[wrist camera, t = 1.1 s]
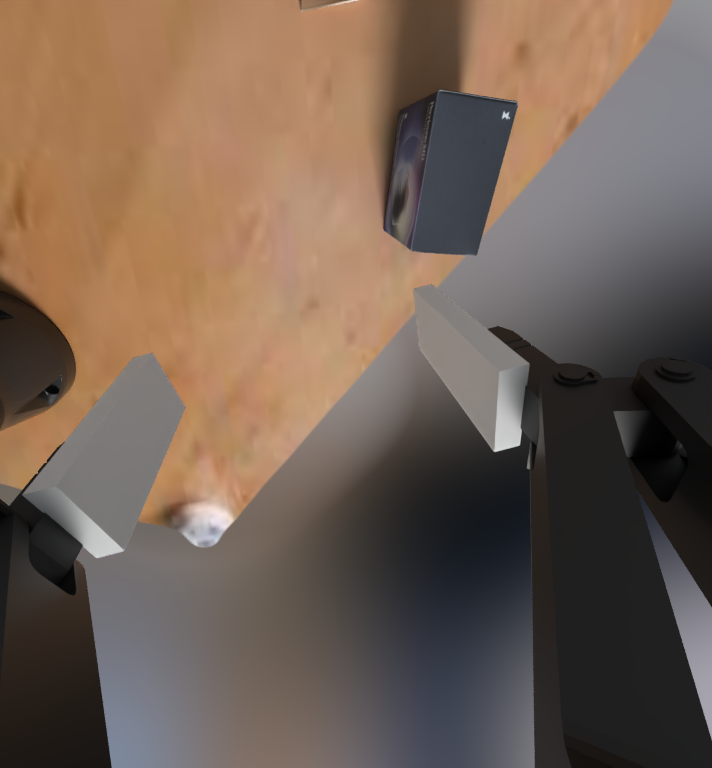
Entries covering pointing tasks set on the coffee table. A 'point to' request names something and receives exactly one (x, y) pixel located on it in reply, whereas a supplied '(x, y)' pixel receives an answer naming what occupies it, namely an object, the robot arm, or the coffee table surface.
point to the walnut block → (319, 4)
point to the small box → (446, 170)
